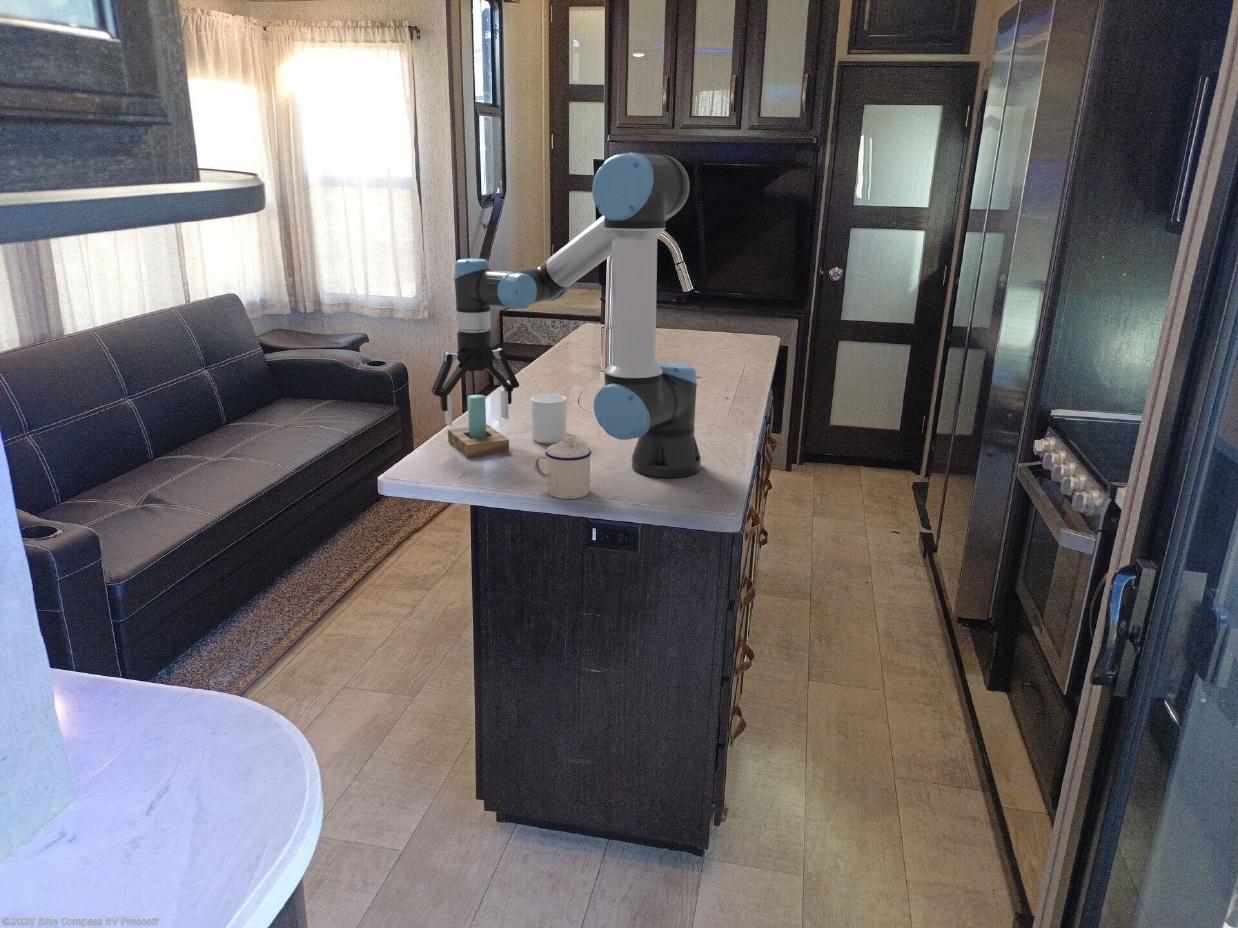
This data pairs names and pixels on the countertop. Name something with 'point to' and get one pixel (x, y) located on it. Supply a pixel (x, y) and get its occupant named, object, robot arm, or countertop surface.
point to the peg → (477, 416)
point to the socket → (478, 442)
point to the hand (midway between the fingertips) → (477, 421)
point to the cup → (548, 418)
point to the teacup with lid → (566, 469)
